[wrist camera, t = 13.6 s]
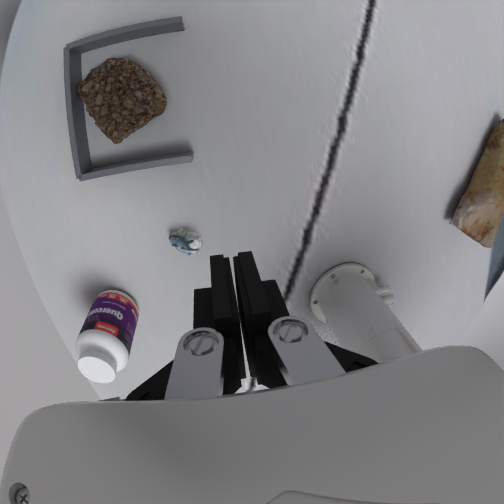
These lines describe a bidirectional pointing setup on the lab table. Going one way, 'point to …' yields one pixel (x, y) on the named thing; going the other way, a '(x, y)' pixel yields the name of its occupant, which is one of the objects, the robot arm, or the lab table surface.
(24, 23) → the lab table surface
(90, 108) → the concrete sample
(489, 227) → the mineral
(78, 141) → the tray
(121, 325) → the pill bottle
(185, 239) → the sculpture
